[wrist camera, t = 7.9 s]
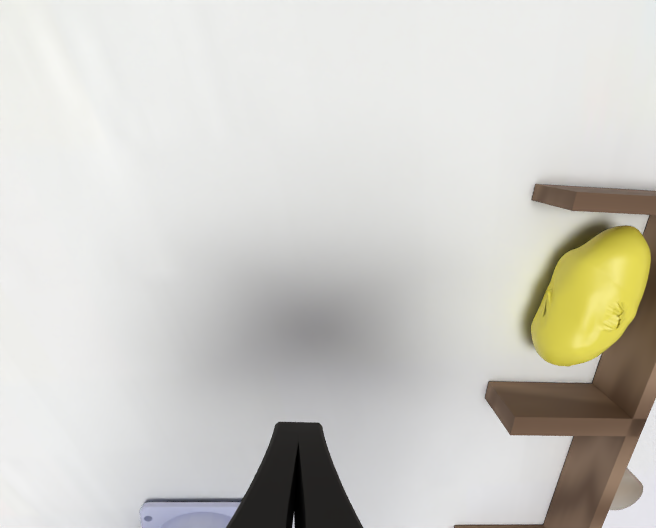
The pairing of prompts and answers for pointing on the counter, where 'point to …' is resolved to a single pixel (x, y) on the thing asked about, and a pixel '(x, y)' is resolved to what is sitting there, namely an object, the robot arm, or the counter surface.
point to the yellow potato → (592, 297)
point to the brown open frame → (592, 391)
